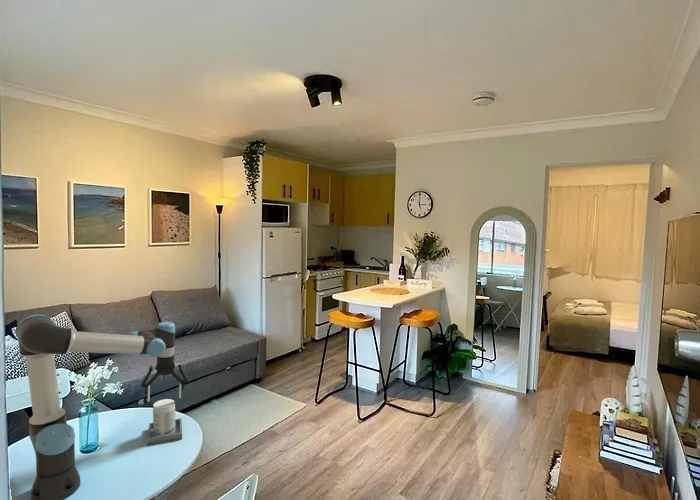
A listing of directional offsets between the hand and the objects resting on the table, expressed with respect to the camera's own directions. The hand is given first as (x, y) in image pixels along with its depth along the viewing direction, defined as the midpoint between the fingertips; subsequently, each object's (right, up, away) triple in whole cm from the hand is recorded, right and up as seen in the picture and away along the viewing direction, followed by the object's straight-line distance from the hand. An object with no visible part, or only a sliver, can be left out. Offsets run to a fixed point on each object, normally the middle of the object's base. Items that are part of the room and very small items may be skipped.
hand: (164, 398), depth 189 cm
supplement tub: (-1, -17, +2) cm, 17 cm away
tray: (-1, -18, +2) cm, 18 cm away
